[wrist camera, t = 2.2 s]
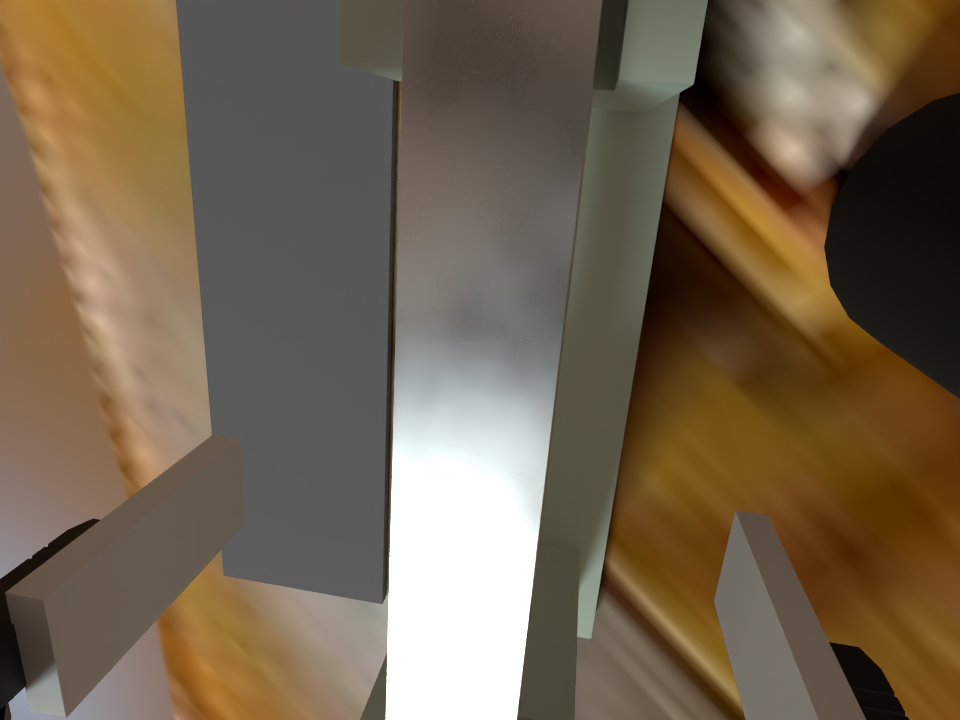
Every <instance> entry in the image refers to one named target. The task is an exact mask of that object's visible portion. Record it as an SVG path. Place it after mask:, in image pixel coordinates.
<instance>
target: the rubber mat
mask: <svg viewBox="0 0 960 720" xmlns="http://www.w3.org/2000/svg"><path fill="white" fill-rule="evenodd" d="M176 6H177V18H178V30H179V42H180V54H181V66H182V78H183V90H184V102H185V114H186V126H187V138H188V150H189V162H190V174H191V186H192V198H193V210H194V222H195V234H196V246H197V258H198V270H199V283H200V295H201V307H202V319H203V331H204V343H205V355H206V367H207V379H208V391H209V403H210V415H211V427H212V435H214V434H215V435H222V436H229V437H236V438H240V452H241V468H242V484H243V501H244V517H245V524H244V526H243V527H242V528H241V529H240V530H239V531H238V532H237V533H236V534H235V535H234V536H233V537H232V539H231V540H230V541H229V542H228V543H227V544H226V545H225V546H224V547H223V548H222V559H223V571H224V576H230V577H235V578H241V579H246V580H252V581H257V582H263V583H268V584H274V585H280V586H285V587H291V588H296V589H302V590H307V591H313V592H318V593H324V594H329V595H335V596H340V597H346V598H351V599H357V600H363V601H368V602H374V603H379V604H383V602H384V599H385V597H386V553H387V508H388V464H389V419H390V374H391V330H392V285H393V241H394V196H395V152H396V107H397V81H396V80H393V79H390V78H386V77H383V76H380V75H377V74H373V73H370V72H367V71H364V70H360V69H357V68H354V67H351V66H347V65H344V64H341V63H340V0H176Z"/></svg>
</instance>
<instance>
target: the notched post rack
mask: <svg viewBox="0 0 960 720" xmlns="http://www.w3.org/2000/svg"><path fill="white" fill-rule="evenodd" d="M707 2H708V0H605V1H604V10H603V18H602V26H601V35H600V43H599V51H598V60H597V68H596V76H595V85H594V93H593V101H592V110H591V118H590V126H589V135H588V143H587V151H586V160H585V168H584V176H583V185H582V193H581V202H580V210H579V218H578V227H577V235H576V243H575V252H574V260H573V268H572V277H571V285H570V293H569V302H568V310H567V318H566V327H565V335H564V343H563V352H562V360H561V368H560V377H559V385H558V393H557V402H556V410H555V418H554V427H553V435H552V443H551V452H550V460H549V468H548V477H547V485H546V493H545V502H544V510H543V518H542V527H541V535H540V543H539V552H538V560H537V568H536V577H535V585H534V593H533V602H532V610H531V618H530V627H529V635H528V643H527V652H526V660H525V668H524V677H523V685H522V694H521V702H520V710H519V719H518V720H574V714H575V685H576V656H577V637H582V638H588V639H591V635H592V629H593V623H594V617H595V611H596V605H597V598H598V592H599V586H600V580H601V574H602V568H603V562H604V555H605V549H606V543H607V537H608V531H609V525H610V518H611V512H612V506H613V500H614V494H615V488H616V482H617V475H618V469H619V463H620V457H621V451H622V445H623V439H624V432H625V426H626V420H627V414H628V408H629V402H630V395H631V389H632V383H633V377H634V371H635V365H636V359H637V352H638V346H639V340H640V334H641V328H642V322H643V316H644V309H645V303H646V297H647V291H648V285H649V279H650V273H651V266H652V260H653V254H654V248H655V242H656V236H657V229H658V223H659V217H660V211H661V205H662V199H663V193H664V186H665V180H666V174H667V168H668V162H669V156H670V150H671V143H672V137H673V131H674V125H675V119H676V113H677V107H678V100H679V94H680V92H681V91H683V90H685V89H686V88H688V87H690V86H692V85H693V84H694V79H695V73H696V67H697V61H698V56H699V50H700V44H701V38H702V32H703V26H704V20H705V14H706V8H707ZM403 18H404V0H340V63H341V64H344V65H347V66H351V67H354V68H357V69H360V70H364V71H367V72H370V73H373V74H377V75H380V76H383V77H386V78H390V79H393V80H396V81H399V82H402V58H403ZM387 662H388V652H387V655H386V657H385V660H384V662H383V665H382V667H381V669H380V672H379V674H378V677H377V679H376V682H375V684H374V687H373V689H372V692H371V694H370V697H369V699H368V702H367V704H366V707H365V709H364V711H363V714H362V716H361V719H360V720H386V703H387Z"/></svg>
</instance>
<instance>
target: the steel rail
mask: <svg viewBox="0 0 960 720" xmlns="http://www.w3.org/2000/svg"><path fill="white" fill-rule="evenodd" d="M604 1H605V0H404V18H403V58H402V98H401V138H400V179H399V219H398V259H397V300H396V340H395V380H394V420H393V461H392V501H391V541H390V582H389V622H388V662H387V703H386V720H518V719H519V710H520V702H521V694H522V685H523V677H524V668H525V660H526V652H527V643H528V635H529V627H530V618H531V610H532V602H533V593H534V585H535V577H536V568H537V560H538V552H539V543H540V535H541V527H542V518H543V510H544V502H545V493H546V485H547V477H548V468H549V460H550V452H551V443H552V435H553V427H554V418H555V410H556V402H557V393H558V385H559V377H560V368H561V360H562V352H563V343H564V335H565V327H566V318H567V310H568V302H569V293H570V285H571V277H572V268H573V260H574V252H575V243H576V235H577V227H578V218H579V210H580V202H581V193H582V185H583V176H584V168H585V160H586V151H587V143H588V135H589V126H590V118H591V110H592V101H593V93H594V85H595V76H596V68H597V60H598V51H599V43H600V35H601V26H602V18H603V10H604Z"/></svg>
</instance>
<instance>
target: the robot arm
mask: <svg viewBox="0 0 960 720" xmlns="http://www.w3.org/2000/svg"><path fill="white" fill-rule="evenodd" d="M244 524H245V517H244V501H243V484H242V468H241V452H240V438H236V437H229V436H222V435H215V434H214V435H212V436H211V437H210V438H208V439H207V440H206V441H204V442H203V443H202V444H200V445H199V446H198V447H196V448H195V449H194V450H192V451H191V452H190V453H188V454H187V455H186V456H185V457H183V458H182V459H181V460H179V461H178V462H177V463H175V464H174V465H173V466H171V467H170V468H169V469H167V470H166V471H165V472H163V473H162V474H161V475H159V476H158V477H157V478H155V479H154V480H153V481H152V482H150V483H149V484H148V485H146V486H145V487H144V488H142V489H141V490H140V491H138V492H137V493H136V494H134V495H133V496H132V497H130V498H129V499H128V500H126V501H125V502H124V503H123V504H121V505H120V506H119V507H118V508H116V509H115V510H113V511H112V512H111V513H109V514H108V515H107V516H106V517H104V518H103V519H101V520H98V519H91V520H89V521H87V522H84V523H83V524H80V525H78V526H75V527H73V528H71V529H69V530H67V531H66V532H64V533H63V534H61V535H60V536H59V537H57V538H56V539H55V540H53V541H52V542H50V543H49V544H48V547H44V548H42V549H41V550H40V551H38V552H37V553H35V554H34V555H33V556H32V559H27V560H26V561H24V562H23V563H22V564H20V565H19V566H18V567H16V568H15V569H14V570H12V571H11V572H9V573H8V574H7V575H5V576H4V577H2V578H1V579H0V720H11V713H10V708H9V704H8V702H9V701H10V700H11V699H13V698H14V696H16V695H17V694H18V693H19V692H20V691H21V690H22V689H23V688H24V687H25V688H26V692H27V697H28V702H29V706H30V710H32V711H36V712H41V713H45V714H50V715H54V716H59V717H64V718H67V716H68V715H69V714H70V713H71V712H72V711H73V710H74V709H75V708H76V707H77V706H78V704H79V703H80V702H81V701H82V700H83V699H84V698H85V697H86V696H87V695H88V694H89V693H90V691H91V690H92V689H93V688H94V687H95V686H96V685H97V684H98V683H99V682H100V681H101V680H102V679H103V677H104V676H105V675H106V674H107V673H108V672H109V671H110V670H111V669H112V668H113V666H114V665H115V664H116V663H117V662H118V661H119V660H120V659H121V658H122V656H124V655H125V654H126V652H127V651H128V650H129V649H130V648H131V647H132V646H133V645H134V644H135V643H136V642H137V640H138V639H139V638H140V637H141V636H142V635H143V634H144V633H145V632H146V631H147V630H148V629H149V628H150V626H151V625H152V624H153V623H154V622H155V621H156V620H157V619H158V618H159V617H160V616H161V615H162V613H163V612H164V611H165V610H166V609H167V608H168V607H169V606H170V605H171V604H172V603H173V601H174V600H175V599H176V598H177V597H178V596H179V595H180V594H181V593H182V592H183V591H184V590H185V588H186V587H187V586H188V585H189V584H190V583H191V582H192V581H193V580H194V579H195V578H196V577H197V575H198V574H199V573H200V572H201V571H202V570H203V569H204V568H205V567H206V566H207V565H208V564H209V562H210V561H211V560H212V559H213V558H214V557H215V556H216V555H217V554H218V553H219V552H220V550H221V549H222V548H223V547H224V546H225V545H226V544H227V543H228V542H229V541H230V540H231V539H232V537H233V536H234V535H235V534H236V533H237V532H238V531H239V530H240V529H241V528H242V527H243V526H244ZM714 604H715V607H716V611H717V615H718V619H719V622H720V626H721V630H722V633H723V637H724V641H725V644H726V648H727V652H728V655H729V659H730V663H731V667H732V670H733V674H734V678H735V681H736V685H737V689H738V692H739V696H740V700H741V703H742V707H743V711H744V715H745V718H746V720H909V718H908V717H905V711H904V709H903V707H902V706H901V704H900V702H899V700H898V698H897V697H895V696H894V691H893V690H892V688H891V686H890V684H889V682H888V681H887V679H886V677H885V675H884V673H883V672H882V670H881V669H880V668H879V667H878V666H877V665H876V664H875V663H874V662H873V661H872V660H871V659H870V658H869V657H868V656H867V655H866V654H865V653H864V652H863V651H862V650H861V649H860V648H859V647H854V646H848V645H842V644H836V643H831V642H828V639H827V637H826V635H825V633H824V631H823V629H822V627H821V625H820V623H819V621H818V619H817V617H816V614H815V612H814V610H813V608H812V606H811V604H810V602H809V600H808V598H807V596H806V594H805V592H804V590H803V587H802V585H801V583H800V581H799V579H798V577H797V575H796V573H795V571H794V569H793V567H792V565H791V563H790V560H789V558H788V556H787V554H786V552H785V550H784V548H783V546H782V544H781V542H780V540H779V538H778V536H777V533H776V531H775V529H774V527H773V525H772V523H771V521H770V519H769V517H768V515H762V514H755V513H748V512H741V511H735V515H734V519H733V523H732V527H731V532H730V536H729V540H728V544H727V549H726V553H725V557H724V561H723V565H722V570H721V574H720V578H719V582H718V587H717V591H716V595H715V599H714Z"/></svg>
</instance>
